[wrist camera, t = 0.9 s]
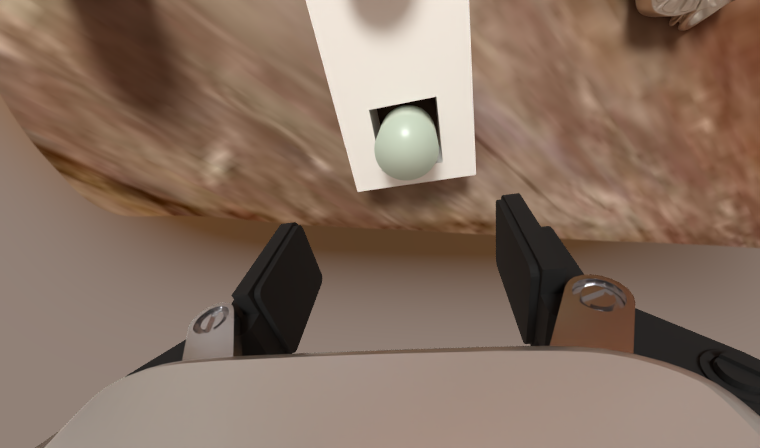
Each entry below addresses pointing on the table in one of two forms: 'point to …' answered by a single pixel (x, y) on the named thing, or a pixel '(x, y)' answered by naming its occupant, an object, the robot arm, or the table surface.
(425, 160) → the sage button
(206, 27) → the table surface
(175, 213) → the table surface
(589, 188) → the table surface
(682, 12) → the ornament
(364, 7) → the button box
